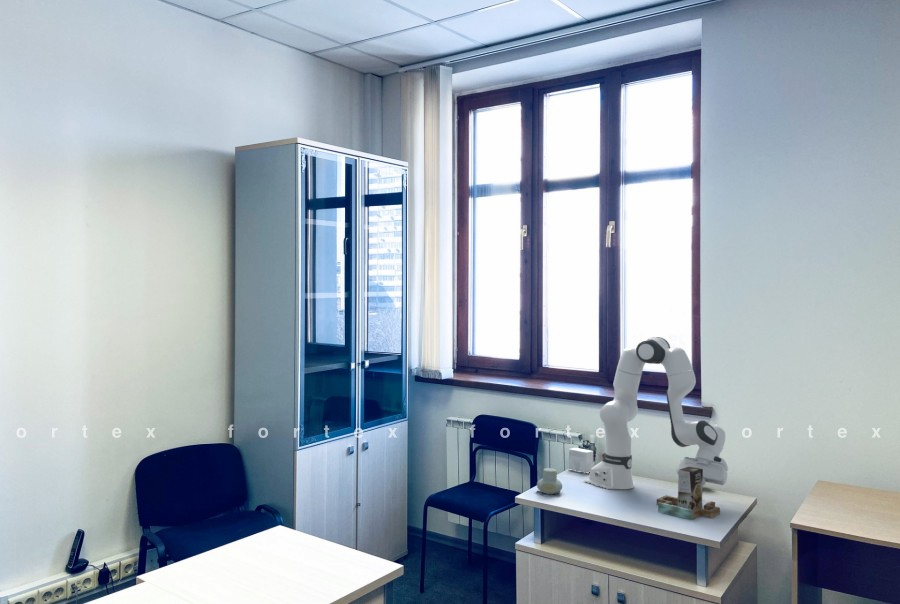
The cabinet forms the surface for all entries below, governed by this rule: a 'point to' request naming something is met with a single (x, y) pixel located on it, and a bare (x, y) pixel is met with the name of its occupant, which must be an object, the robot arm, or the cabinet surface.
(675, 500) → the lane
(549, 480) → the air freshener
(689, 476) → the coffee box
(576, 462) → the skincare box
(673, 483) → the cabinet surface
